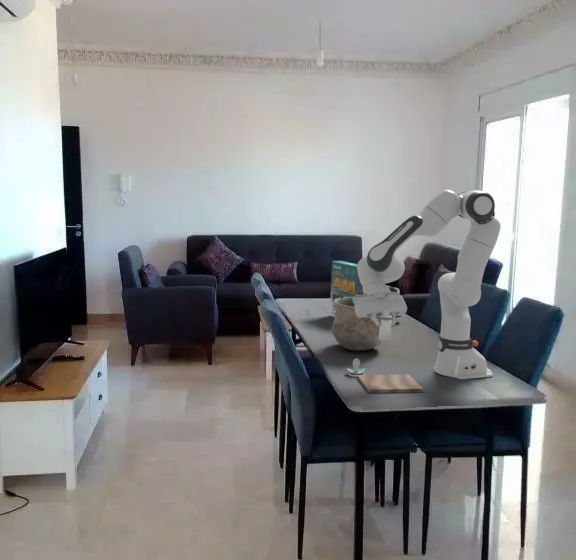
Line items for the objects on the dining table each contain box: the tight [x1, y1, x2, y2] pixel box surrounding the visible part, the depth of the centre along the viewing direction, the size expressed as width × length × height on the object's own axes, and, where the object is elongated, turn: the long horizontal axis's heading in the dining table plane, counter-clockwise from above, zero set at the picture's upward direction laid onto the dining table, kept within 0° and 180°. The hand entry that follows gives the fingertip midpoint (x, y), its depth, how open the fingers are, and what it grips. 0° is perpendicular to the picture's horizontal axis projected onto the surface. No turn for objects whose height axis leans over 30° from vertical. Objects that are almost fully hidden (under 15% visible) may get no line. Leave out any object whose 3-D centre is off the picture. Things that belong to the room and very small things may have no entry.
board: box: [357, 374, 424, 394], centre depth 230 cm, size 20×16×1 cm
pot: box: [331, 297, 383, 352], centre depth 275 cm, size 25×24×21 cm
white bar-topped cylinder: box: [379, 310, 392, 342], centre depth 232 cm, size 5×5×11 cm
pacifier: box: [346, 358, 366, 378], centre depth 239 cm, size 7×6×6 cm
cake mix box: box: [329, 260, 364, 318], centre depth 330 cm, size 22×6×30 cm, turn 34°
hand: (386, 325), depth 231 cm, fingers closed on white bar-topped cylinder, 4 cm apart
